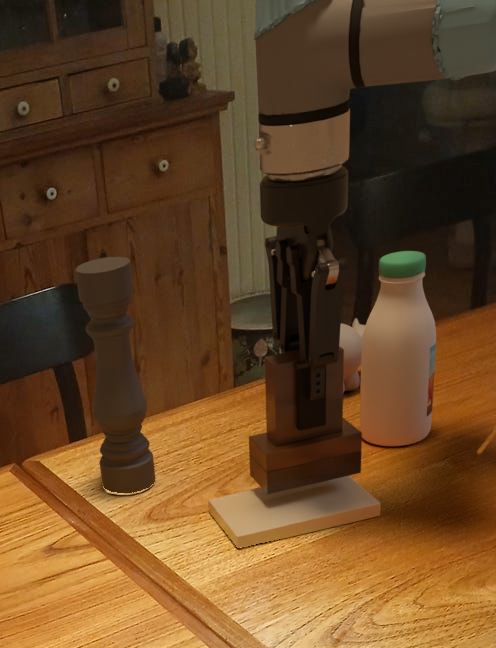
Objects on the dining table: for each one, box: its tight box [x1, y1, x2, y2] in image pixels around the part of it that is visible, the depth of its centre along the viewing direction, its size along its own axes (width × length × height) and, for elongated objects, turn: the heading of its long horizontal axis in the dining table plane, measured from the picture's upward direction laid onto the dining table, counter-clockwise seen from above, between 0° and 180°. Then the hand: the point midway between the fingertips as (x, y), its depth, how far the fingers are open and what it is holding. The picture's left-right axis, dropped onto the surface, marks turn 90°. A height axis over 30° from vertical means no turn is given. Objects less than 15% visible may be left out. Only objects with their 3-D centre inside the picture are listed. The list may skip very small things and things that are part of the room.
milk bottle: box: [359, 250, 437, 447], centre depth 108 cm, size 8×8×20 cm
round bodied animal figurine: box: [339, 317, 366, 394], centre depth 126 cm, size 7×12×8 cm, turn 121°
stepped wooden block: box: [248, 346, 363, 494], centre depth 99 cm, size 10×5×13 cm, turn 99°
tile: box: [207, 475, 382, 549], centre depth 102 cm, size 15×9×2 cm, turn 99°
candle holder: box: [74, 256, 156, 493], centre depth 108 cm, size 6×6×25 cm
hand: (304, 420), depth 100 cm, fingers closed on stepped wooden block, 3 cm apart
